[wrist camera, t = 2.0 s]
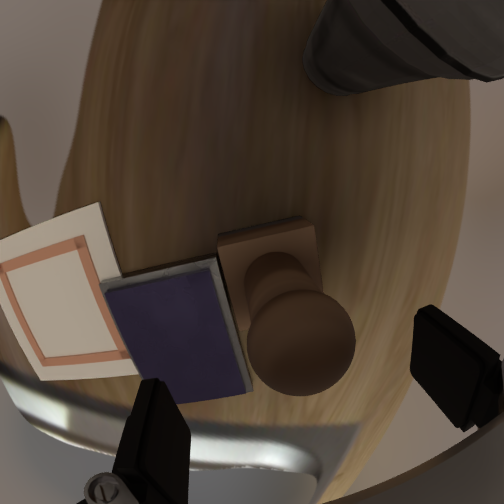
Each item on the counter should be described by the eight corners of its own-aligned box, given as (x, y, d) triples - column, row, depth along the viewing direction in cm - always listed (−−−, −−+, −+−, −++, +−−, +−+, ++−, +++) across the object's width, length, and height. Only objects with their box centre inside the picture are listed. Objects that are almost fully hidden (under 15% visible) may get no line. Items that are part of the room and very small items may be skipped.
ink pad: (103, 278, 18) (95, 287, 17) (216, 252, 18) (215, 260, 17) (158, 397, 22) (155, 410, 20) (252, 382, 22) (254, 396, 20)
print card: (-18, 248, 16) (-22, 250, 16) (100, 201, 17) (97, 202, 16) (42, 378, 20) (40, 381, 20) (161, 368, 21) (160, 372, 20)
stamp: (218, 234, 18) (211, 329, 8) (300, 215, 18) (391, 283, 8) (237, 307, 20) (251, 440, 9) (311, 289, 20) (384, 402, 9)
